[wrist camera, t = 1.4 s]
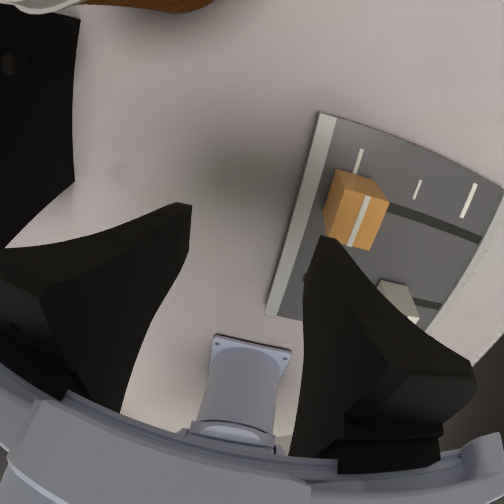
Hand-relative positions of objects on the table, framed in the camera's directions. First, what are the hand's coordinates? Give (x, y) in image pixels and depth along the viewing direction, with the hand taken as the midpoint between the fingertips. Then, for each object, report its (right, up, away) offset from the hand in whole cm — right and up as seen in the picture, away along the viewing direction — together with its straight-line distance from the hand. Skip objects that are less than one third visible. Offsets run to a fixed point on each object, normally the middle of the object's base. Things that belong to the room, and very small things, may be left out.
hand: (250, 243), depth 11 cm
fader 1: (+6, +3, +7) cm, 9 cm away
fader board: (+10, 0, +10) cm, 14 cm away
